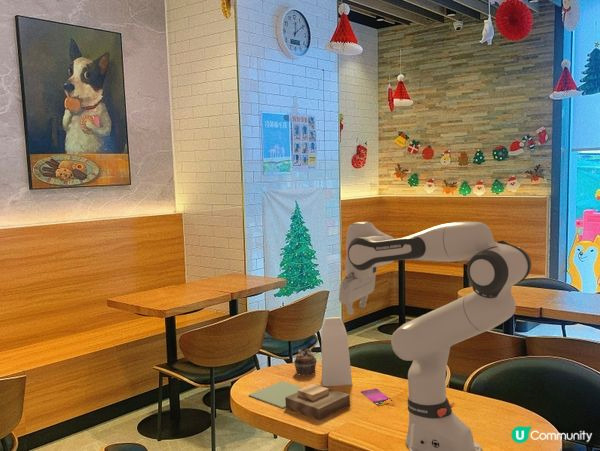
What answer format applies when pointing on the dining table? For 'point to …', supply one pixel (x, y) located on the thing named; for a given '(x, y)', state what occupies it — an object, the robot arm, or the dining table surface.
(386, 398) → the smartphone
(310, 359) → the cupcake
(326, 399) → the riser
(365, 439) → the dining table surface
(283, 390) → the mat
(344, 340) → the milk
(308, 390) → the coaster
